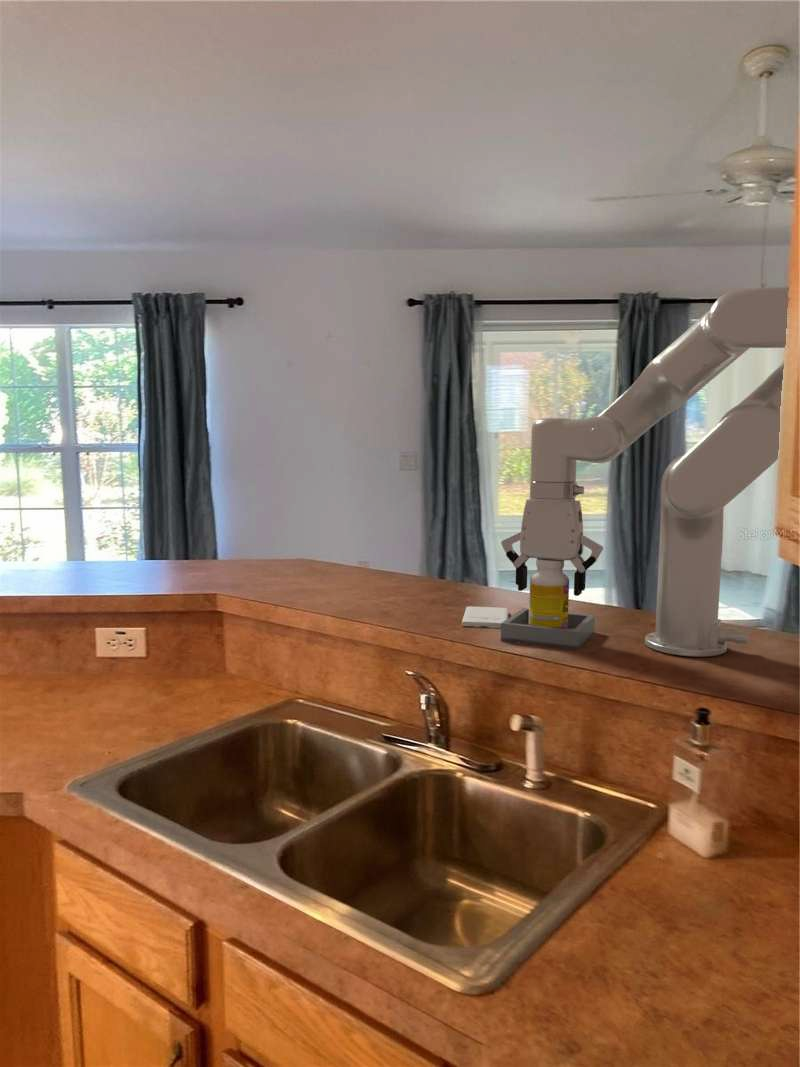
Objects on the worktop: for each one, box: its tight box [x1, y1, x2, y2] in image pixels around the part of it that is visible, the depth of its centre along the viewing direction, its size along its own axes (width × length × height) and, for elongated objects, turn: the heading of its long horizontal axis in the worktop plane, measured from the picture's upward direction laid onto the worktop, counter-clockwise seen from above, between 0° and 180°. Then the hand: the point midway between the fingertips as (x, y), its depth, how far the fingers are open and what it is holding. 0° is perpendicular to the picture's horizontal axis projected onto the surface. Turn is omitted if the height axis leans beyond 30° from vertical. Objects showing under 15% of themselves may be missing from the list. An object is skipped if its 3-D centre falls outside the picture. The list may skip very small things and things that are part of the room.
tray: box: [500, 607, 596, 651], centre depth 135 cm, size 13×13×3 cm
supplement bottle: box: [528, 558, 570, 629], centre depth 134 cm, size 7×7×13 cm
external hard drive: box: [461, 605, 509, 629], centre depth 147 cm, size 2×8×12 cm
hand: (549, 591), depth 134 cm, fingers open, 9 cm apart
